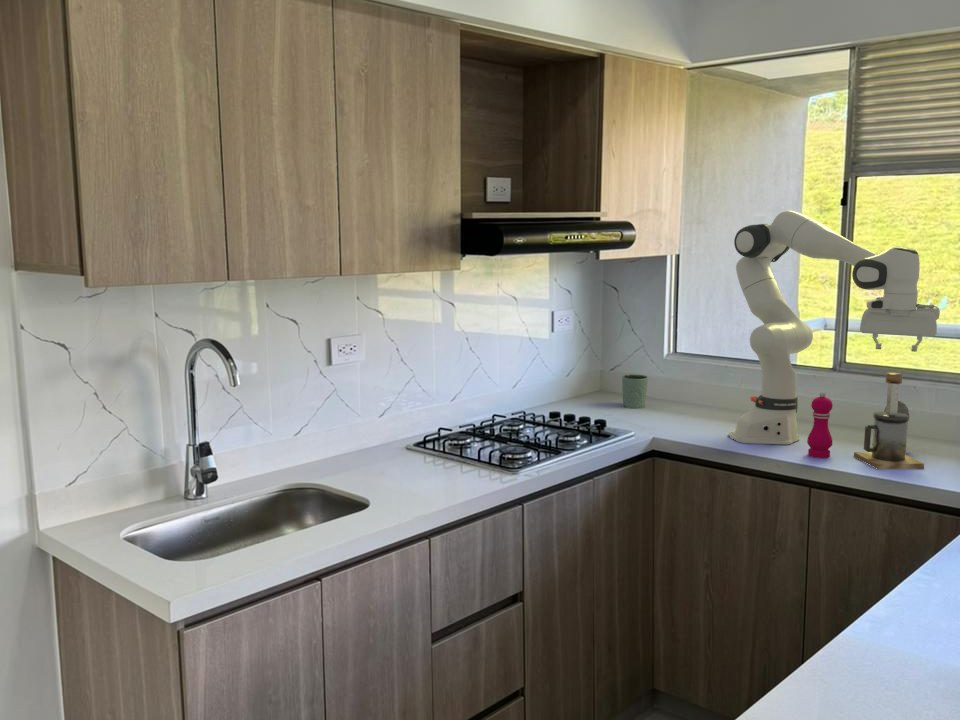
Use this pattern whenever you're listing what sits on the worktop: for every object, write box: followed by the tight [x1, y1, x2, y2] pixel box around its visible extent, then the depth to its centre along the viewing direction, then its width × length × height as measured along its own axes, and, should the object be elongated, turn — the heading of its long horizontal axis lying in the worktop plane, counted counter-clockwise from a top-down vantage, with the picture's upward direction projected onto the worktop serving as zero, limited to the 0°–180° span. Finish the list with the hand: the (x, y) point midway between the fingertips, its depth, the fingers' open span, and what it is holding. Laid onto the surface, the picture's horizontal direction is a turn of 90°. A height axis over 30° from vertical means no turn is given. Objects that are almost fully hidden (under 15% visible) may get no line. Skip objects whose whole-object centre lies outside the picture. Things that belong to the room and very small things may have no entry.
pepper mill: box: [806, 391, 834, 459], centre depth 263 cm, size 7×7×20 cm
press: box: [863, 411, 910, 462], centre depth 255 cm, size 12×10×22 cm
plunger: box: [885, 372, 904, 415], centre depth 254 cm, size 4×4×12 cm
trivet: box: [853, 451, 925, 470], centre depth 257 cm, size 14×14×2 cm
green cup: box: [621, 373, 649, 409], centre depth 339 cm, size 10×10×12 cm
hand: (896, 350), depth 252 cm, fingers open, 8 cm apart
